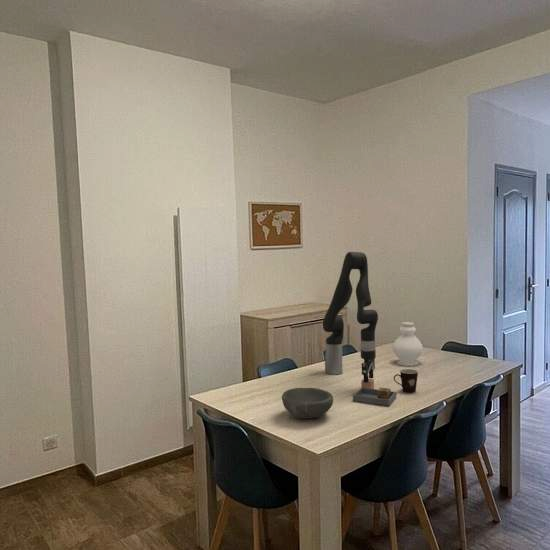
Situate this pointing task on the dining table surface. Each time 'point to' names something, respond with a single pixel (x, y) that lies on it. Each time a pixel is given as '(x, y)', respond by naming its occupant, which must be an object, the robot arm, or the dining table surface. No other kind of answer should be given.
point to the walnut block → (384, 393)
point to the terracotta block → (368, 384)
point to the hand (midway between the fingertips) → (368, 380)
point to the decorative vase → (407, 345)
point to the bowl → (307, 402)
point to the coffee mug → (408, 380)
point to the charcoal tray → (372, 397)
